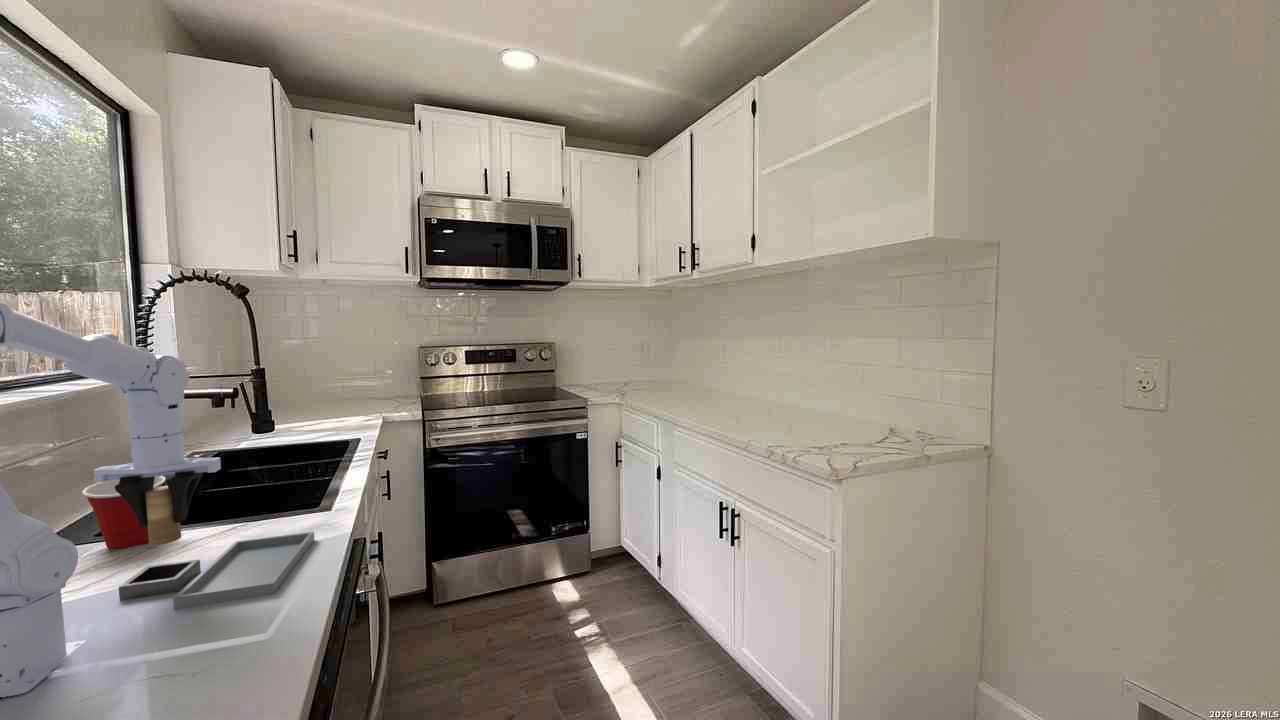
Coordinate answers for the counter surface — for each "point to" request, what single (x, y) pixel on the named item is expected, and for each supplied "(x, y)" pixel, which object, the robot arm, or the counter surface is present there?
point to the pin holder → (159, 580)
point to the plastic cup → (117, 515)
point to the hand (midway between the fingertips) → (164, 522)
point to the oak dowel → (161, 517)
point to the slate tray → (246, 570)
